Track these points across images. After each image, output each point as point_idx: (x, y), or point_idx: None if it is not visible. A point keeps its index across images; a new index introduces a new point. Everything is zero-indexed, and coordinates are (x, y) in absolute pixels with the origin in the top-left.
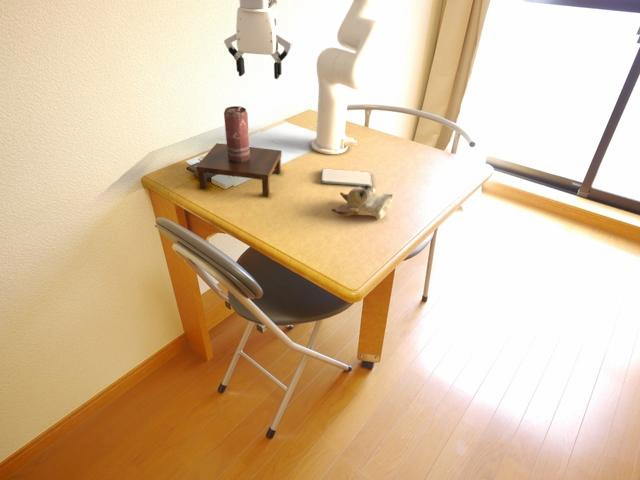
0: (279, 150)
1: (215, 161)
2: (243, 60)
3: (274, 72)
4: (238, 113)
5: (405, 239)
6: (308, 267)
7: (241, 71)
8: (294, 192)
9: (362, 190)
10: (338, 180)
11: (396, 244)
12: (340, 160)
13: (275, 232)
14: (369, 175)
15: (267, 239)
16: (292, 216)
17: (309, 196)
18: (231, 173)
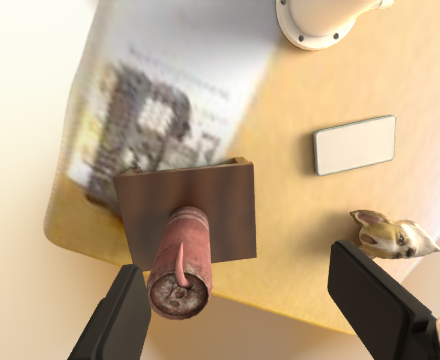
0: (249, 165)
1: (155, 247)
2: (111, 343)
3: (348, 320)
4: (198, 313)
5: (414, 260)
6: (317, 325)
7: (145, 332)
8: (278, 210)
9: (398, 252)
10: (343, 165)
11: (402, 271)
12: (341, 71)
13: (275, 293)
14: (394, 129)
15: (270, 305)
16: (287, 262)
17: (301, 213)
18: None
